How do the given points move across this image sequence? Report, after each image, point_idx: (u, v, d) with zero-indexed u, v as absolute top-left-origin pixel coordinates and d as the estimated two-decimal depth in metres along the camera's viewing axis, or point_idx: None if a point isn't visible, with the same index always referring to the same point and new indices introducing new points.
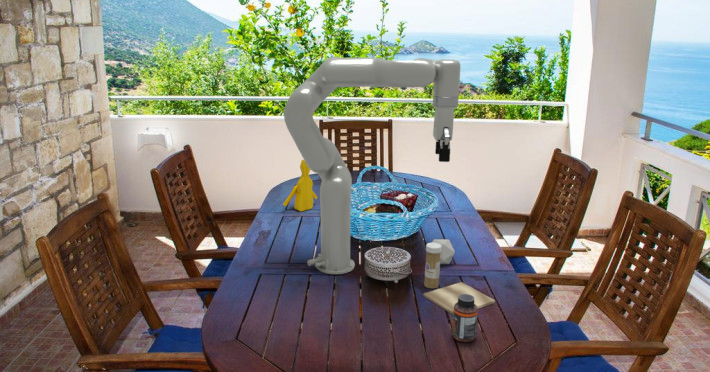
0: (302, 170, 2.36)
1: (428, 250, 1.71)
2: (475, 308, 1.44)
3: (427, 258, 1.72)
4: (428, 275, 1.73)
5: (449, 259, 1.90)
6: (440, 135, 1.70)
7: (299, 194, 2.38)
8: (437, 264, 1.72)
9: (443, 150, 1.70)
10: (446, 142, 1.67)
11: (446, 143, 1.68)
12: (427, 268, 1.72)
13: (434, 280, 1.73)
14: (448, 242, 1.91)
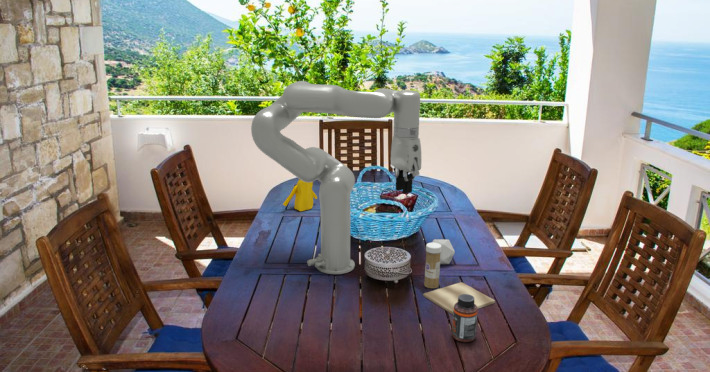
0: None
1: (428, 250, 1.71)
2: (475, 308, 1.44)
3: (427, 258, 1.72)
4: (428, 275, 1.73)
5: (449, 259, 1.90)
6: None
7: (299, 194, 2.38)
8: (437, 264, 1.72)
9: None
10: None
11: None
12: (427, 268, 1.72)
13: (434, 280, 1.73)
14: (448, 242, 1.91)
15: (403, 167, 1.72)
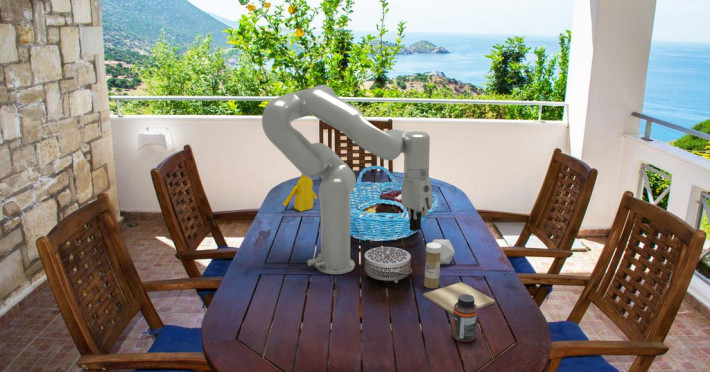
0: None
1: (428, 250, 1.71)
2: (475, 308, 1.44)
3: (427, 258, 1.72)
4: (428, 275, 1.73)
5: (449, 259, 1.90)
6: None
7: (299, 194, 2.38)
8: (437, 264, 1.72)
9: None
10: None
11: None
12: (427, 268, 1.72)
13: (434, 280, 1.73)
14: (448, 242, 1.91)
15: (414, 207, 1.74)
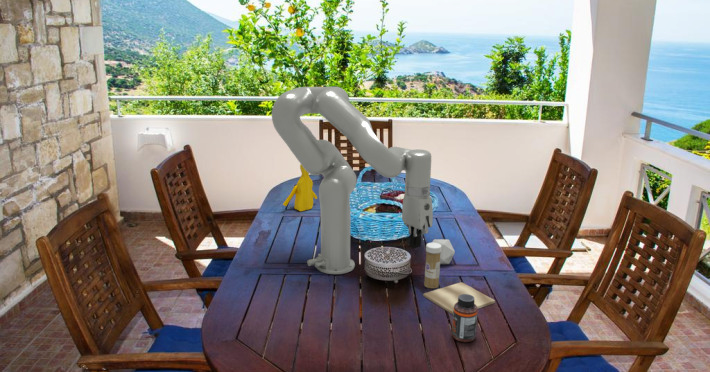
0: (302, 170, 2.36)
1: (428, 250, 1.71)
2: (475, 308, 1.44)
3: (427, 258, 1.72)
4: (428, 275, 1.73)
5: (449, 259, 1.90)
6: None
7: (299, 194, 2.38)
8: (437, 264, 1.72)
9: None
10: None
11: None
12: (427, 268, 1.72)
13: (434, 280, 1.73)
14: (448, 242, 1.91)
15: (415, 225, 1.75)
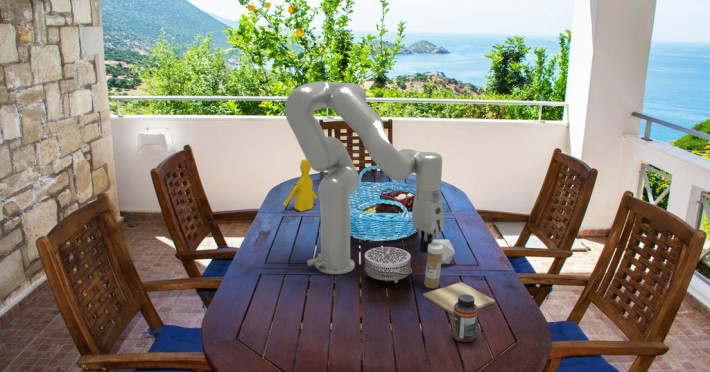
0: (302, 170, 2.36)
1: (430, 251, 1.70)
2: (475, 308, 1.44)
3: (428, 258, 1.72)
4: (428, 275, 1.73)
5: (449, 259, 1.90)
6: None
7: (299, 194, 2.38)
8: (438, 265, 1.71)
9: None
10: None
11: None
12: (428, 268, 1.72)
13: (435, 280, 1.73)
14: (448, 242, 1.91)
15: (425, 229, 1.71)
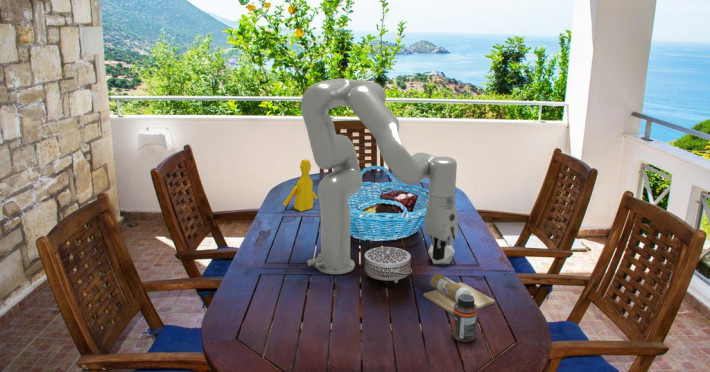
0: (302, 170, 2.36)
1: (456, 299, 1.62)
2: (475, 308, 1.44)
3: (450, 293, 1.64)
4: (439, 289, 1.69)
5: (449, 259, 1.90)
6: None
7: (299, 194, 2.38)
8: None
9: None
10: None
11: None
12: (443, 291, 1.67)
13: None
14: None
15: (439, 236, 1.66)
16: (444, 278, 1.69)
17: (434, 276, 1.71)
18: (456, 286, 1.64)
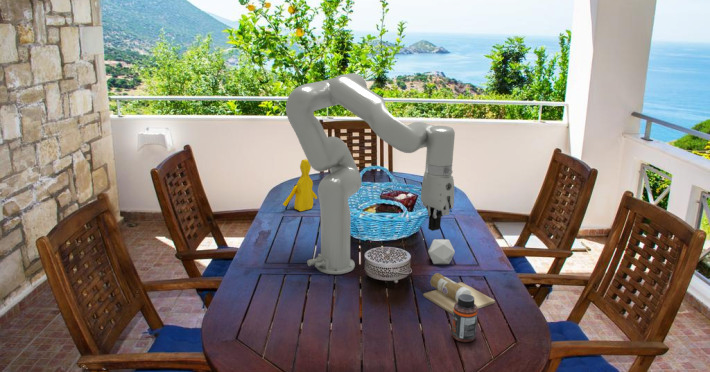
0: (302, 170, 2.36)
1: (456, 298, 1.62)
2: (475, 308, 1.44)
3: (450, 293, 1.64)
4: (439, 289, 1.69)
5: (449, 259, 1.90)
6: None
7: (299, 194, 2.38)
8: None
9: None
10: None
11: None
12: (444, 291, 1.67)
13: None
14: (448, 242, 1.91)
15: (435, 205, 1.65)
16: (444, 278, 1.69)
17: (434, 276, 1.71)
18: (456, 286, 1.64)
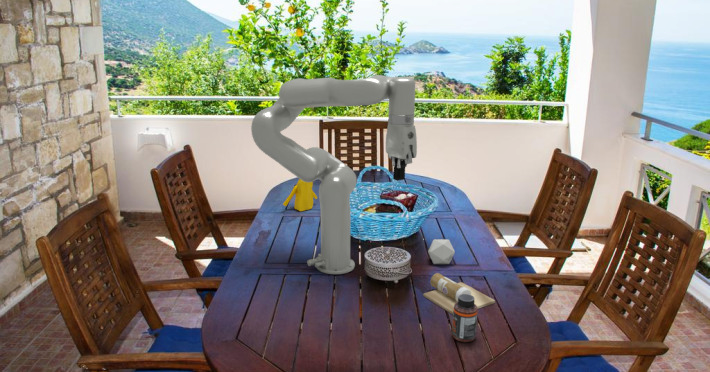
0: None
1: (456, 298, 1.62)
2: (475, 308, 1.44)
3: (450, 293, 1.64)
4: (439, 289, 1.69)
5: (449, 259, 1.90)
6: None
7: (299, 194, 2.38)
8: None
9: None
10: None
11: None
12: (444, 291, 1.67)
13: None
14: (448, 242, 1.91)
15: (398, 155, 1.70)
16: (444, 278, 1.69)
17: (434, 276, 1.71)
18: (456, 286, 1.64)
